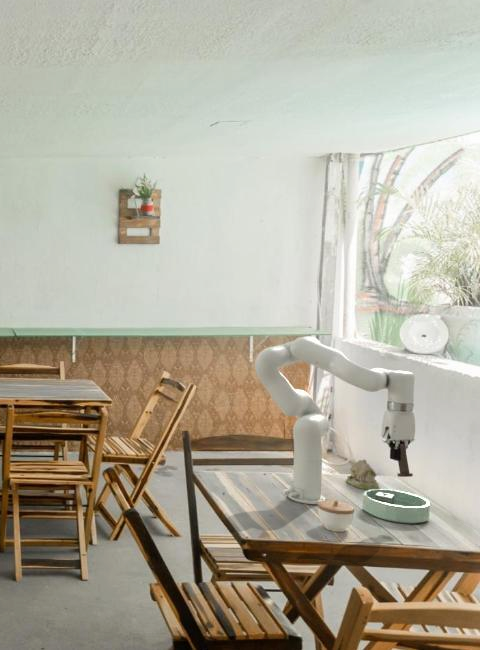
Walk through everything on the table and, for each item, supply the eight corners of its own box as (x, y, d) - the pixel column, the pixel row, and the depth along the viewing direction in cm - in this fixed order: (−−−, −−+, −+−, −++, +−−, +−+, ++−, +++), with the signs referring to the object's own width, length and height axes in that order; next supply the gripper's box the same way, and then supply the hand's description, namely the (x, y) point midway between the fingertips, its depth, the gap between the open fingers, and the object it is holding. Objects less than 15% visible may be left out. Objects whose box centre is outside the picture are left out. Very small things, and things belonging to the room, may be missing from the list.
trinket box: (352, 536, 216) (353, 508, 216) (315, 530, 222) (316, 502, 222) (354, 526, 225) (355, 499, 225) (318, 520, 231) (319, 493, 231)
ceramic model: (342, 478, 279) (342, 454, 278) (371, 479, 277) (372, 456, 277) (356, 489, 265) (356, 464, 265) (386, 490, 263) (387, 465, 263)
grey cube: (393, 508, 241) (394, 494, 241) (391, 511, 237) (391, 498, 237) (378, 505, 244) (378, 491, 244) (374, 508, 241) (375, 494, 240)
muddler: (405, 476, 227) (399, 443, 229) (394, 476, 231) (389, 443, 233) (416, 476, 228) (410, 443, 230) (405, 475, 232) (399, 443, 234)
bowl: (396, 527, 225) (397, 509, 225) (350, 507, 244) (350, 491, 244) (443, 522, 230) (443, 505, 230) (394, 503, 249) (394, 487, 249)
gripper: (409, 404, 237) (406, 455, 238) (372, 405, 233) (369, 457, 234) (428, 408, 229) (425, 461, 230) (390, 410, 226) (388, 463, 227)
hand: (397, 459), depth 232 cm, fingers closed on muddler, 2 cm apart
